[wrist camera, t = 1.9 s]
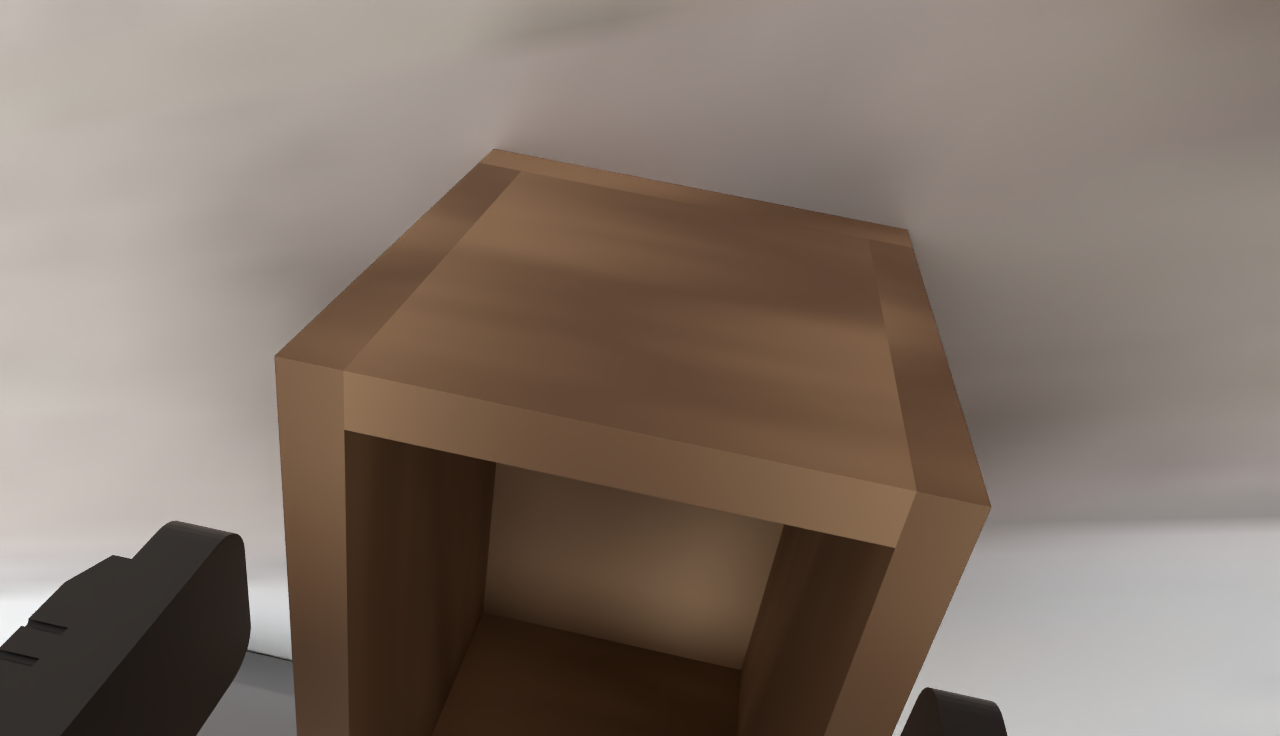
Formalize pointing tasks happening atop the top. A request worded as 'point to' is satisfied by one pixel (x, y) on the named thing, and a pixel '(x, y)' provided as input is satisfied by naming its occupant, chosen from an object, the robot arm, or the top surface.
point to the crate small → (621, 469)
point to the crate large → (256, 701)
